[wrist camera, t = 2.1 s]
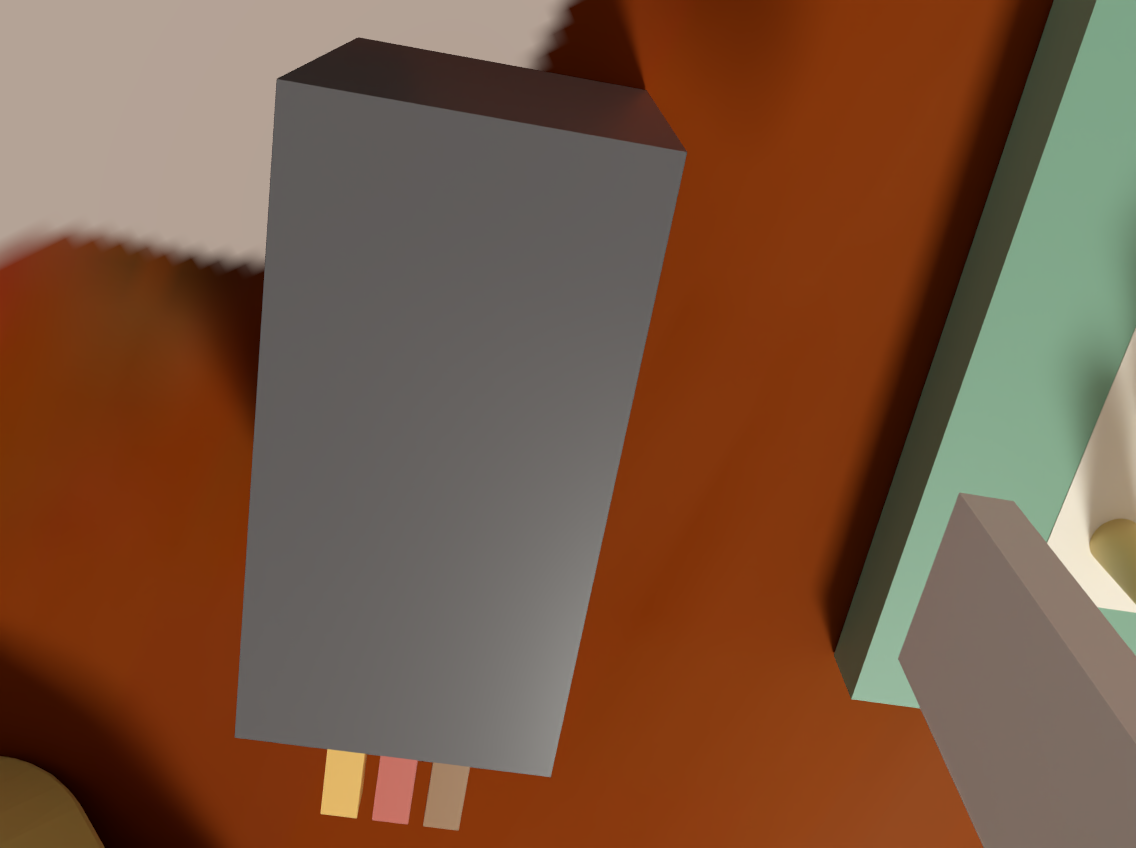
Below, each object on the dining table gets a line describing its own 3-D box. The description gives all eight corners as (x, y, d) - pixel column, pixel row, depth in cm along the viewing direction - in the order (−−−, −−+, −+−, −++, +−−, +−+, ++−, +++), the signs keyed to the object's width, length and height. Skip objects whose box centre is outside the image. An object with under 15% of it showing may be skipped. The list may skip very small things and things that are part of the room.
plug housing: (520, 724, 24) (512, 952, 19) (297, 695, 24) (223, 920, 18) (646, 90, 19) (686, 152, 13) (357, 37, 18) (276, 78, 13)
